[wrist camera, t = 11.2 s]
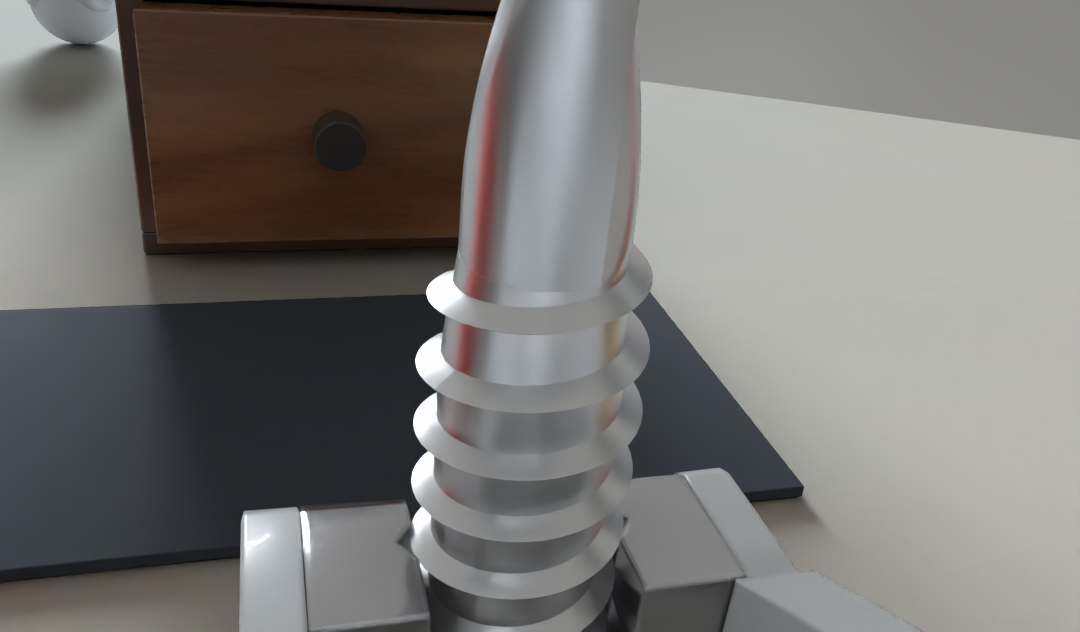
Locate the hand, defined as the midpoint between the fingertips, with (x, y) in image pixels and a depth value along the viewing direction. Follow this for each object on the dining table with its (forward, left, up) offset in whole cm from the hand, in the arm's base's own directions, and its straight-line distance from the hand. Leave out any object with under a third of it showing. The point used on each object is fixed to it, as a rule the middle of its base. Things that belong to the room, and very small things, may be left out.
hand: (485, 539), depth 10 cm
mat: (0, +14, -7) cm, 16 cm away
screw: (0, -1, -7) cm, 7 cm away
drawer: (0, +29, -7) cm, 29 cm away
